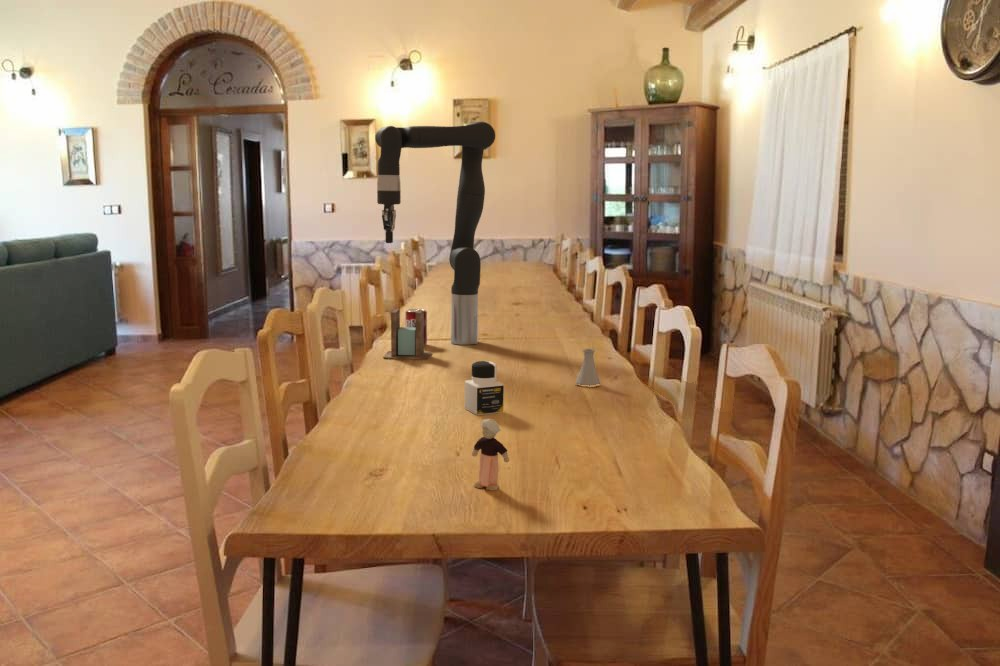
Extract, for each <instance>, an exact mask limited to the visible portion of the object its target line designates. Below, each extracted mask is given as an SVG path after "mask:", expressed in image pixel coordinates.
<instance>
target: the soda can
mask: <svg viewBox="0 0 1000 666" xmlns="http://www.w3.org/2000/svg"><path fill="white" fill-rule="evenodd" d="M419 309H420V308H411V309H410V308H409V309H407V310H406V311H405V312H404V313H405V315H404V316H405V318H404V319H405V325H404V326H405V327H416V312H417V311H418V310H419ZM427 343H428V311H427V310H426V309H424V347H425V346H426V345H427Z"/></svg>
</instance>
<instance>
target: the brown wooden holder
mask: <svg viewBox="0 0 1000 666" xmlns="http://www.w3.org/2000/svg"><path fill="white" fill-rule="evenodd" d="M418 309H419V310H418V311H417V312H416V355H398V329H399V328H400V327H401V321H400V320H401V309H400V308H394V309H393V310H392V311H391V312H390V342H391V343H390V350H387V352H386V353H385V354H384V355H383V357H382V359H383V358H396V359H395V360H412V359H419V360H420V361H423V360H424V361H428V360H429V359H428V358H430V357H431V355H432V351H425V346H424V310H425V309H424V308H423V309H422V308H418ZM397 358H398V359H397ZM427 359H428V360H427ZM419 360H418V361H419Z"/></svg>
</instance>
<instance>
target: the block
mask: <svg viewBox="0 0 1000 666" xmlns="http://www.w3.org/2000/svg"><path fill="white" fill-rule="evenodd" d="M398 355H416V327H406V326H405V327H403V326H400V328H399V329H398Z"/></svg>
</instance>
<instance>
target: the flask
mask: <svg viewBox="0 0 1000 666" xmlns="http://www.w3.org/2000/svg"><path fill="white" fill-rule="evenodd" d="M595 352H596V351H595V349H593V348H584V349H583V353H584V355H583V361H582V364H581V367H580V370H579V373H578V376H577V378H576V380H575V383H576V384H580V385H589V386H590V385H596V384H600V385H601V381H600V378H599V374H598V371H597V368H596V364H595V358H594V355H595Z"/></svg>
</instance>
